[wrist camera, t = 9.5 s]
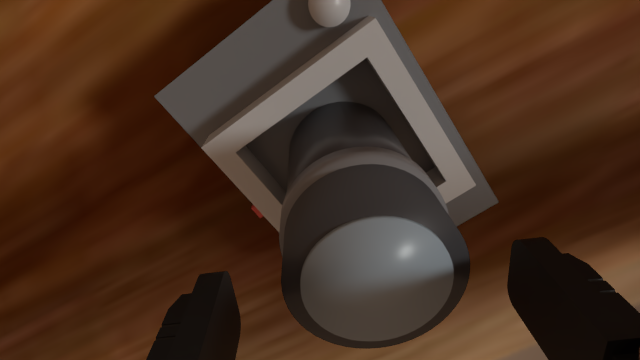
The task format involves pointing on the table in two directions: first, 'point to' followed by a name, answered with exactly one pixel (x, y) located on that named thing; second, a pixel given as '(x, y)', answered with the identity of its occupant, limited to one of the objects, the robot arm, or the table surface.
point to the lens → (365, 234)
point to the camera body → (317, 98)
